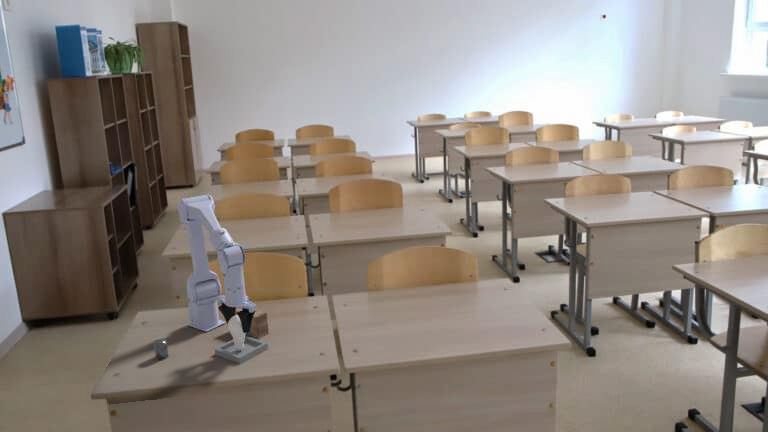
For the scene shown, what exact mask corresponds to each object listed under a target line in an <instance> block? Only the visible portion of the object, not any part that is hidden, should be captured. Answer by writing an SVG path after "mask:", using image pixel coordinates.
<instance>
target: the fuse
mask: <svg viewBox="0 0 768 432" xmlns="http://www.w3.org/2000/svg"><path fill="white" fill-rule="evenodd" d="M167 341H168V340H167V339H165V338H159V339H156V340H154V342H153V347H154V355H155V359H156V360H157V361H162V360H163V361H164V360H166V359H168V358H169V357H170V356H169V349H168V342H167Z"/></svg>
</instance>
